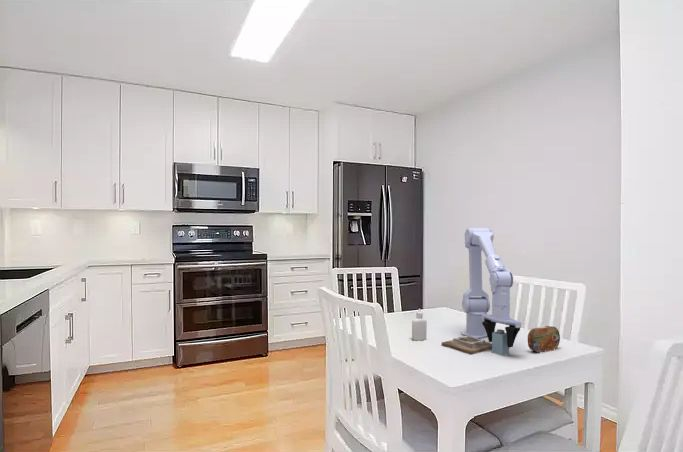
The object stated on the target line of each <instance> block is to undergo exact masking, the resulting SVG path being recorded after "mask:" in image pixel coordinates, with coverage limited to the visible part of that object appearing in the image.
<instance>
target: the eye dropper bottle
mask: <svg viewBox="0 0 683 452" xmlns="http://www.w3.org/2000/svg"><path fill="white" fill-rule="evenodd" d="M423 314H424V313H423V311H421V308H418V310H417V311H416V313H415V315H416V316H415V318H413V319H412V322H411V340H412V341H416V342H417V341H418V342H419V341H426V340H427V325H428V324H427V319H426V318H423Z"/></svg>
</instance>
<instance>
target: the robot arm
mask: <svg viewBox="0 0 683 452" xmlns="http://www.w3.org/2000/svg"><path fill="white" fill-rule="evenodd" d="M494 235H495V234H494V230H493V229H492V228H491V227H466V229H465V231H464V245H465V246H464V247H465V248H467V250H468V264H469V265H468V267H469V269H468V270H469V271H468V272H469V275H468V277H469V289H467V290H466V291H464V293H463V294H462V300H461V307H462V310H463V312H464V313H465V314H466V317H465V321H466V324H465V325H466V327H465V332H462V333H461V335H463V336H470V337H474V338H477V339H482V338H486V337H487V340H488V343H492V333H493V332H496V325H497V324H502V325H506V326H505V327H504V329H505V333H507V346H508V347H509V349H511V348H513V347H514V344H515V340H516V337H517V336H518V333H519V332H520V331H521V328H522V321H519V320H517V319H513V318H511V315H510V311H511V310H510V309H511V308H510V305H511V303H510V301H511V296H510V295H511V288H512V287H513V284H514V275H513V273H512V271H511V270H509V269H508V268H506V267H505V263H504V262H503V260H502V258H501V256H500V255H498V254H496V249H495V248H494V237H495V236H494ZM482 252H483V254H484V256H485V260H484V264H485V265H486V268H487V270H488V273H489V285H490V291H491V293H492V295H491V296H492V297H491V300H492V301H491V303H490V298H489V295H488V293H487V292H486V291H485V290H484V289H483V270H482V269H483V267H482V265H483V263H482ZM491 304H492V305H491ZM490 309H491V314H488V313H489V312H490Z"/></svg>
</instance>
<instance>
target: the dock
mask: <svg viewBox="0 0 683 452" xmlns="http://www.w3.org/2000/svg"><path fill="white" fill-rule="evenodd" d="M442 346H443V347H446V348H450V349H452V350H455V351H458V352H461V353H464V354H468V355H474V354H477V353H481V352H485V351H489V350H492V342H489V341H488V342H487V341H486V340H484V339H482V338H478V339H477V338H474V337H470V336H466V335H463V336H460V337H459V336H458V337H455V338H453V339H452V340H451V339H450V340H447V341H441V347H442Z"/></svg>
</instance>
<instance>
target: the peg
mask: <svg viewBox="0 0 683 452" xmlns="http://www.w3.org/2000/svg"><path fill="white" fill-rule="evenodd" d="M491 343H492V349H491V353H493V354H496V355H499V356H506V355H509V354H510V348H509V347H508V346H507V333H506V331H505V330H504V329H501V328H499V329H496V331H495V332H493V333H492V342H491Z"/></svg>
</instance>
